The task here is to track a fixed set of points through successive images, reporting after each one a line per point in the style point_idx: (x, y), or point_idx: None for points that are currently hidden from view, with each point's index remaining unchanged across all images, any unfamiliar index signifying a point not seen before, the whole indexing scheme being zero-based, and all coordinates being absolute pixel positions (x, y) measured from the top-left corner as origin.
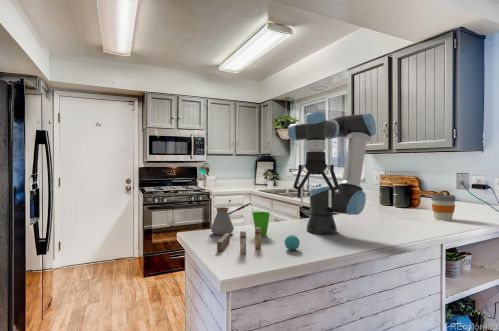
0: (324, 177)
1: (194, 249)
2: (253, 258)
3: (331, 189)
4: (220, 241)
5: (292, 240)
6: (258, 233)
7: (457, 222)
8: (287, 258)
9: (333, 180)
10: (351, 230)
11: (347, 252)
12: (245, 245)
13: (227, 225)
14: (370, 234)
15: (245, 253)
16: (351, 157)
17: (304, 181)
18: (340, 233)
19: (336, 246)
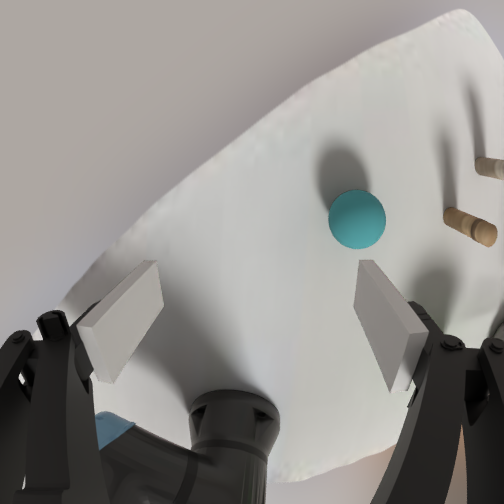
0: (59, 468)
1: None
2: (453, 120)
3: (69, 336)
4: None
5: (361, 197)
6: (479, 219)
7: None
8: (364, 121)
9: (5, 405)
10: (155, 421)
11: (160, 218)
12: (490, 162)
13: None
14: (109, 389)
15: (476, 161)
16: None
17: (431, 427)
18: (180, 401)
19: (191, 278)
